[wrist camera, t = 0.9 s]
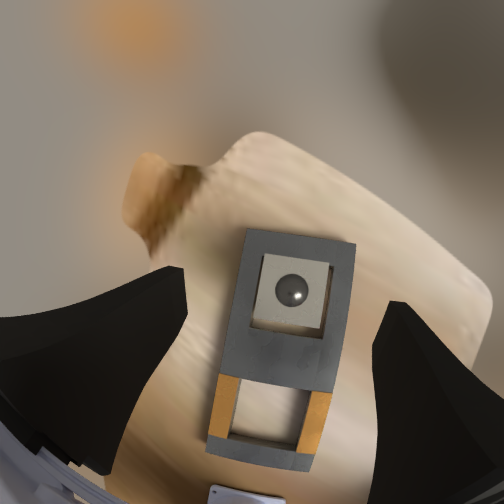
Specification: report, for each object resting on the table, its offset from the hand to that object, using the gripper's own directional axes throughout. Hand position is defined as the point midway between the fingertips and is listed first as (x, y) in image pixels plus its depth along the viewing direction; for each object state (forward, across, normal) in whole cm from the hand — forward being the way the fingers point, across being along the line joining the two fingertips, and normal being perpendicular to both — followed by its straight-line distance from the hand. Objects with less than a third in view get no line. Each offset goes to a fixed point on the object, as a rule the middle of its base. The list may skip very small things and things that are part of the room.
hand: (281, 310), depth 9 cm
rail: (+10, 0, +13) cm, 16 cm away
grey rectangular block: (+13, 0, +9) cm, 16 cm away
